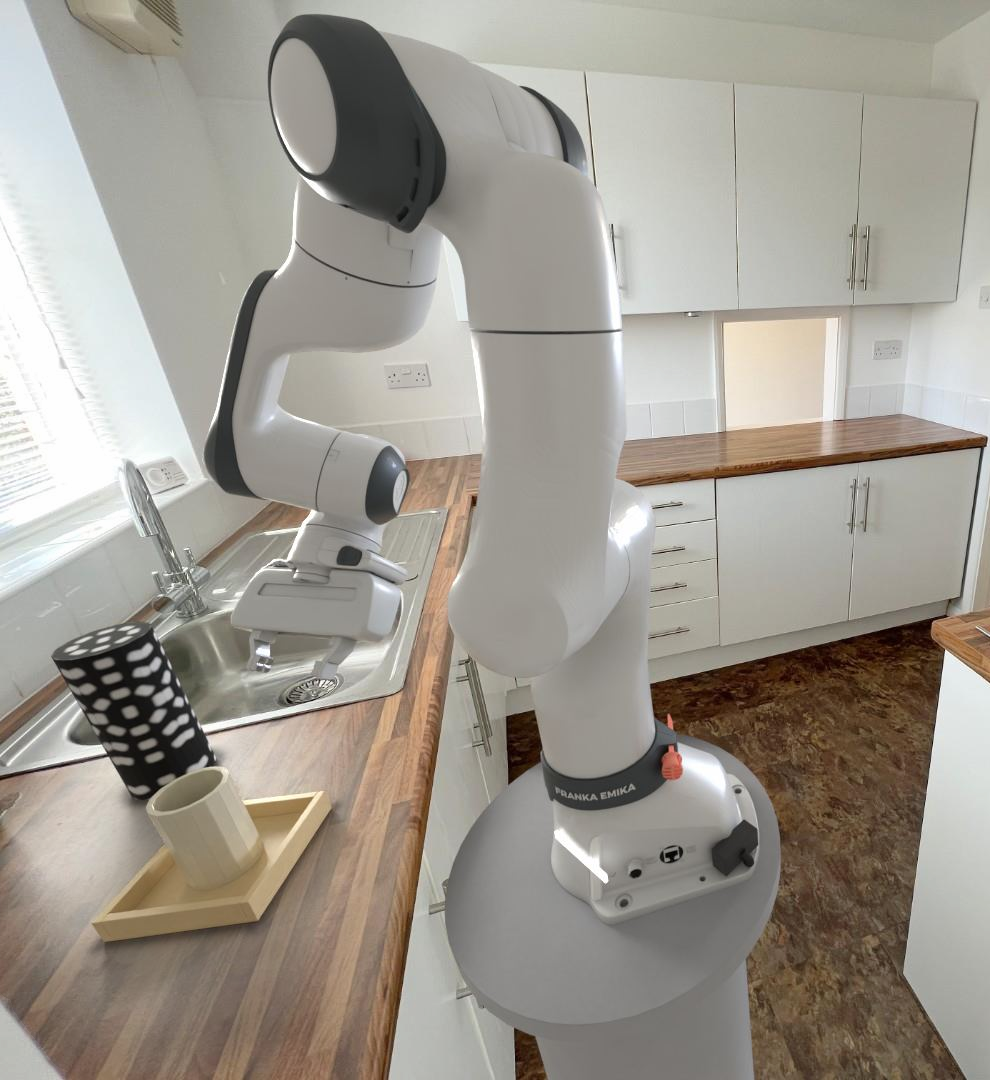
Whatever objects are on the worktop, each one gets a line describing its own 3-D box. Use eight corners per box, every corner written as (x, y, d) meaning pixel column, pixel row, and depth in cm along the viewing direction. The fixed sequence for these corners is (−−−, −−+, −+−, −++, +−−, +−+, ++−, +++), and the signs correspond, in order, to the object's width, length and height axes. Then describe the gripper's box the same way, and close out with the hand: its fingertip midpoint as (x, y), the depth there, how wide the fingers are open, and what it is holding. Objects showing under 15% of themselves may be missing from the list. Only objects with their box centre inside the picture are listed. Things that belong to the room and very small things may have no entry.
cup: (276, 834, 64) (242, 762, 60) (239, 886, 58) (199, 810, 54) (216, 842, 63) (178, 770, 59) (172, 895, 57) (128, 819, 54)
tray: (332, 807, 68) (325, 790, 67) (258, 921, 55) (248, 902, 54) (208, 823, 66) (199, 805, 66) (103, 942, 54) (91, 923, 53)
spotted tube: (133, 774, 75) (58, 640, 67) (215, 742, 80) (153, 614, 72) (127, 812, 69) (44, 669, 61) (216, 775, 74) (149, 639, 66)
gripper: (243, 549, 71) (192, 662, 66) (381, 554, 66) (337, 677, 61) (289, 567, 77) (245, 673, 71) (419, 573, 71) (382, 687, 66)
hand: (288, 675), depth 66 cm, fingers open, 8 cm apart
